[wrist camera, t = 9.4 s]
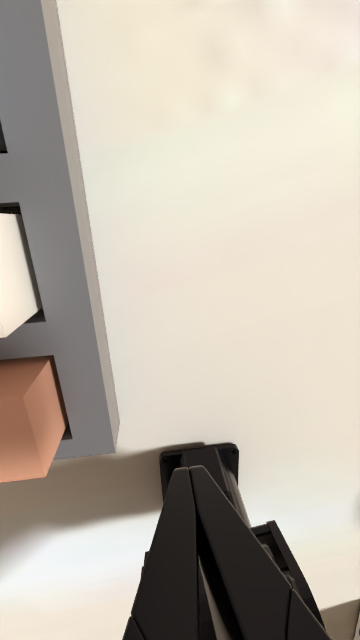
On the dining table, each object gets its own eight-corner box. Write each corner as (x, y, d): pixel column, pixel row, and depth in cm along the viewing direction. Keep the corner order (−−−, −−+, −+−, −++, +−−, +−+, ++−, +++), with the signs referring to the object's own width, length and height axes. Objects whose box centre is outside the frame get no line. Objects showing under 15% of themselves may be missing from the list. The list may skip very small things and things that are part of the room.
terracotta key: (70, 414, 19) (45, 477, 15) (-5, 423, 19) (-56, 489, 14) (56, 349, 18) (22, 396, 13) (-28, 357, 17) (-93, 408, 13)
